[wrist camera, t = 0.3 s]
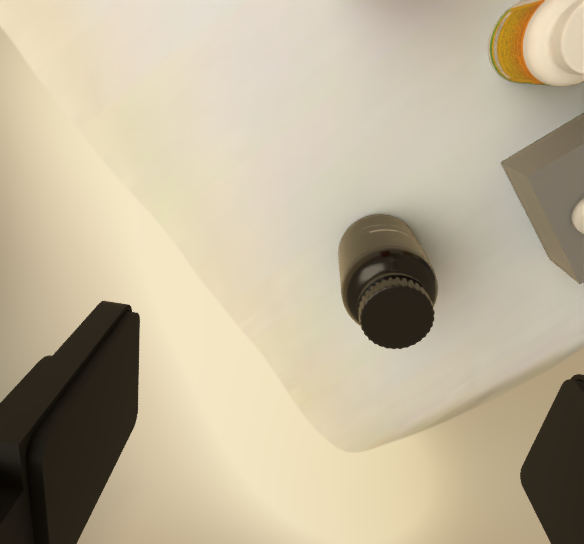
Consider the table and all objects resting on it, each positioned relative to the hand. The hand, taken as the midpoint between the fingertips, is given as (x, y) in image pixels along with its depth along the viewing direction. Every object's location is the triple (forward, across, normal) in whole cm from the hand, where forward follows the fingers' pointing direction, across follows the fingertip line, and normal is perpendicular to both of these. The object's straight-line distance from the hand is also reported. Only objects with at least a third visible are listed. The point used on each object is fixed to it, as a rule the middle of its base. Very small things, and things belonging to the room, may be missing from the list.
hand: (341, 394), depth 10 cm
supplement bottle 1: (+30, -6, +7) cm, 31 cm away
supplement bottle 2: (+30, -13, -10) cm, 34 cm away
